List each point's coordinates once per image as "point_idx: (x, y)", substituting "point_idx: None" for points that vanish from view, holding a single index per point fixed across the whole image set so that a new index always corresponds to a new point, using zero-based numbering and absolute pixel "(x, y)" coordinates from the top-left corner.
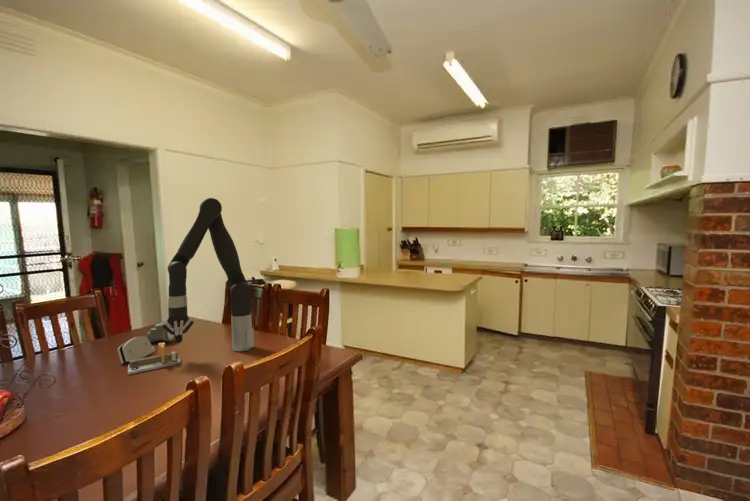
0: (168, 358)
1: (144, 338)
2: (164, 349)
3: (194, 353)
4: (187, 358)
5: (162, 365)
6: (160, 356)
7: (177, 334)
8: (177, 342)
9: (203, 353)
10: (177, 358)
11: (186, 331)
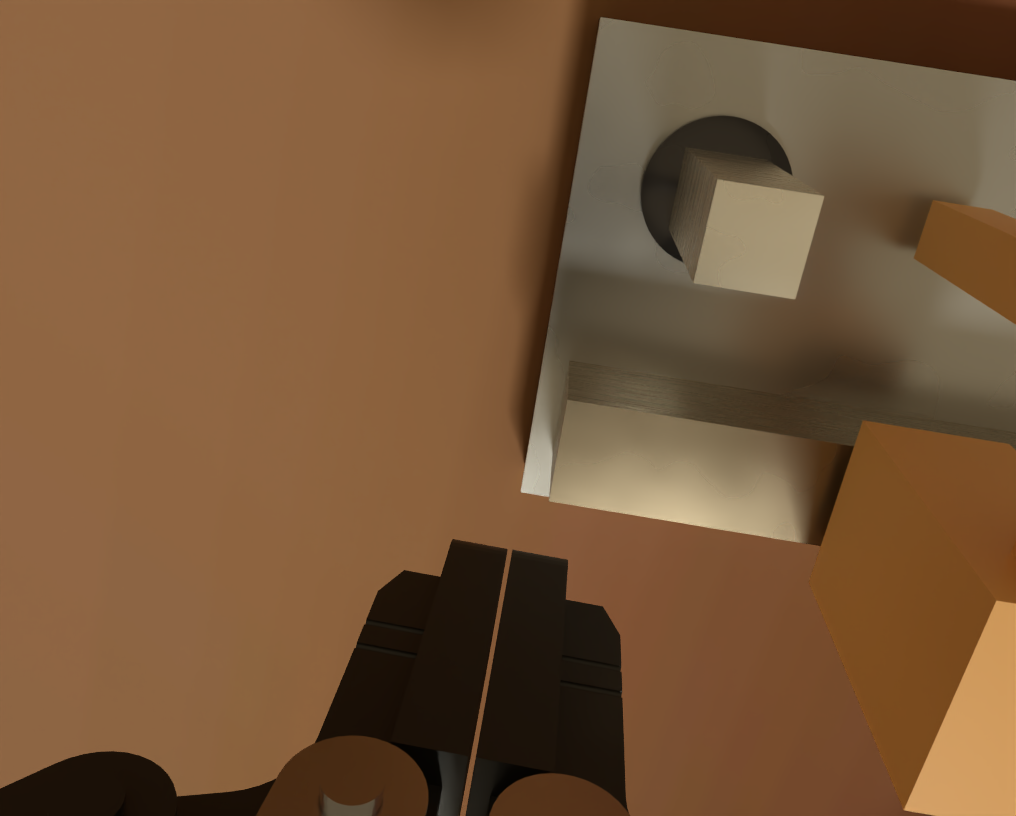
0: (765, 401)
1: None
2: (944, 505)
3: (220, 495)
4: (392, 303)
5: (1013, 84)
6: None
7: (526, 805)
8: (554, 565)
9: (63, 367)
10: (597, 306)
11: (23, 798)
